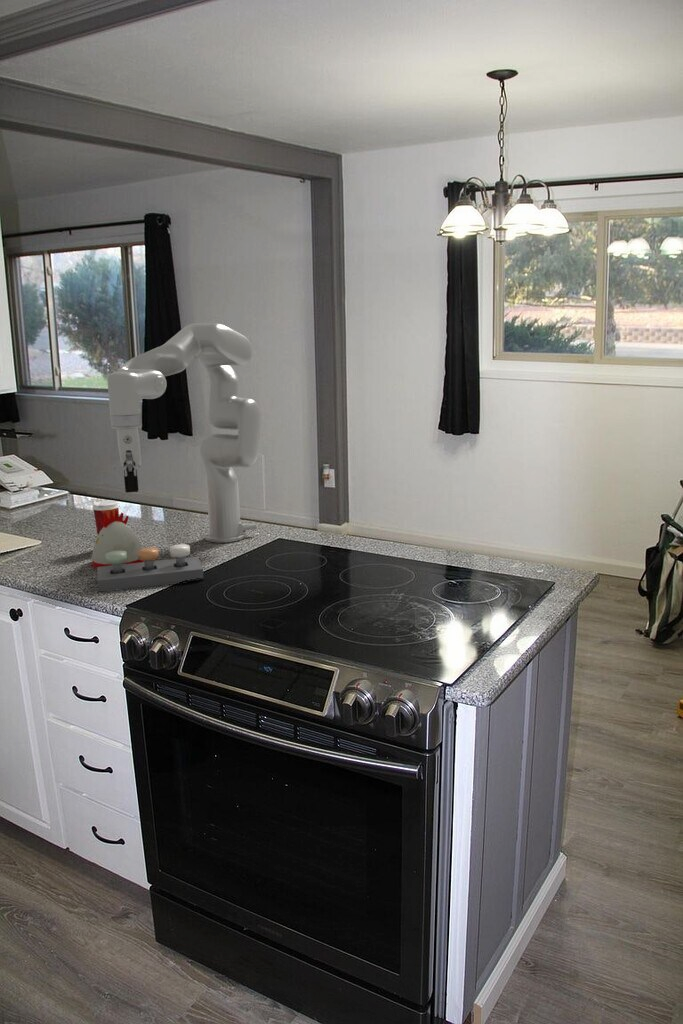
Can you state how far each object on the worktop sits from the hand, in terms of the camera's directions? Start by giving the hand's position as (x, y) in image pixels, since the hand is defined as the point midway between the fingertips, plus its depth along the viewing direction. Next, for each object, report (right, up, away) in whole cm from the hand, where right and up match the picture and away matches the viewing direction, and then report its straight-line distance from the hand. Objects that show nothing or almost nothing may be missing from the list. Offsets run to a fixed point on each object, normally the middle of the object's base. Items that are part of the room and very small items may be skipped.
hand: (131, 488), depth 217 cm
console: (+4, -23, +3) cm, 24 cm away
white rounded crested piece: (-8, -20, +19) cm, 29 cm away
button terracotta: (+4, -21, +2) cm, 21 cm away
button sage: (-4, -21, 0) cm, 22 cm away
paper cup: (-14, -17, +32) cm, 39 cm away
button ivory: (+12, -20, +4) cm, 24 cm away
